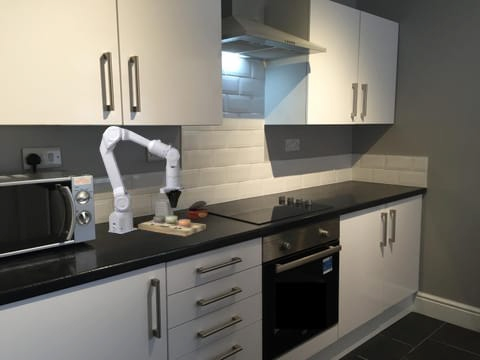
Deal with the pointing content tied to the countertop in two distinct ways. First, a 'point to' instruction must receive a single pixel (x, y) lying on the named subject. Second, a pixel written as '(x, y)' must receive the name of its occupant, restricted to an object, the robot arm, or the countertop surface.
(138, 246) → the countertop surface
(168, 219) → the sage button
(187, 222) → the terracotta button
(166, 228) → the button board
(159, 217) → the grey button
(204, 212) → the canned food
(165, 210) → the medicine box
